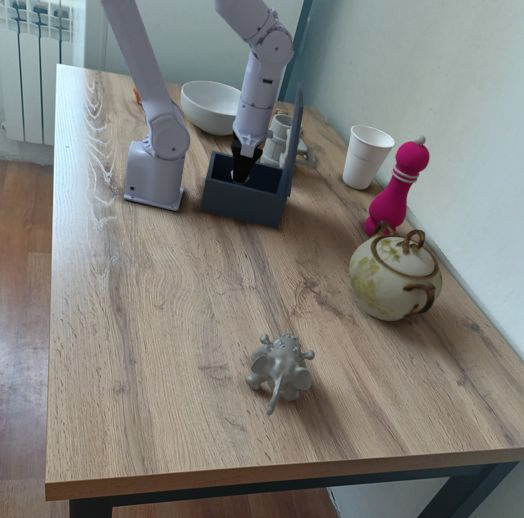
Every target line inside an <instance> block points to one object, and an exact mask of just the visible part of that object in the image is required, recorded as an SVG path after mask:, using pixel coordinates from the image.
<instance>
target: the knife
mask: <svg viewBox="0 0 524 518" xmlns="http://www.w3.org/2000/svg"><path fill="white" fill-rule="evenodd" d="M274 113H275V115H276V114H284V115H288V116H289V112H287V110H285V109H283V108H275V111H274ZM300 138H301V136H300ZM307 149H308V146H307V145H306V143H305V142H304V140H303V139H302V138H301V140H300V143H299V145H298V150H307ZM302 156H303V157H304V160H306V156H305V155H302Z"/></svg>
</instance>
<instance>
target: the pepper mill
mask: <svg viewBox="0 0 524 518" xmlns="http://www.w3.org/2000/svg"><path fill="white" fill-rule="evenodd" d="M426 139H427V138H426V137H425V136H424V135H423V134H419V135H417V136H416V137H415V139H414V140H410V141H406V142H404V143H403V144H401V145H399V147H398V148H397V150H396V153H395V156H394V157H395V163H394V164H393V166H392V169H391V172H390V174H391V177H390V180H389V182H388V184H387V185H386V187H384V188H383V190H382V191H381V192H379V194H377V195H376V196H375V197H374V198H373V200H372V201H371V203H370V204H369V207H368V215H369V216H367V218H366V219H365V221H364V224H363V229H364V232H366V234H368V236H370V237H372V236H373V230H374V228H375V226H376V224H377V223H378V222H380V221H386V222H387V223H388V224H389V225H390V227H391V228H392V229H393V230H394V231H395V232H396V233H397V227H399V226H401V225H403V223H404V221H405V219H406V216H407V211H408V208H407V207H408V206H407V205H408V203H407V202H408V194H409V192H410V189H411V187H412V186H413V184H415V183H417V182H418V178H419V177H420V172H423V171H424V170H425V169H426V168H427V167H428V165H429V162H430V157H431V156H430V155H431V154H430V151H429V149H428V148H427V147H426V146H425V145H424V144H425V143H426V141H427V140H426ZM380 230H381V229H380ZM383 235H390V233H389V232H388V230H386V231H385V233H384V234H383Z"/></svg>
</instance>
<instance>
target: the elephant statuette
mask: <svg viewBox="0 0 524 518" xmlns="http://www.w3.org/2000/svg"><path fill="white" fill-rule="evenodd" d="M259 342H260V343H261V346H258V347H257V348H256V349H254V350H253V351H252V353H251V357H250V358H251V362H252V364H251V367H250V371H251V372H252V374H249V375H247V376H246V378H245V382H246V384H247V385H248V386H249V387H250V388H251V389H253V390H259V389H260V388H261V385H262V384H264V383H265V382H266V384H267V387H269V390H271V391H272V396H271V398H270V401H269V403H268V405H267V408H266V411H265V412H266V413H265V414H266V415H267V416H272V415H273V414H274V411H275V409H276V407H277V403H278V401H279V396H280V394H281V393H282V392H283V391H284V392H283V399H284V400H285V401H288V402H289V401H297V400H298V399H300V397H301V394H300V391H299V390H302V391H303V390H304V391H305V390H306V391H308V390H309V389H310V388H311V386H312V382H313V378H312V373H311V372H310V370H309V369H308V368H307V363H306V360H308V361H313V360H314V359H315V358H316V352H315V351H314V350H313V349H308V350H307V351H305V352H304V353H303V352H302V348H301V347H302V344H301V343H300V341H299V337H298V336H294V335H293V334H292V333H291V332H290V333H286V332H283V333H282V334H281V336H277V337H276V339H275V340H270V336H269V334H268V333H265V334H262V335H260V337H259Z"/></svg>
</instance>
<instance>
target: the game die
mask: <svg viewBox="0 0 524 518" xmlns="http://www.w3.org/2000/svg"><path fill="white" fill-rule="evenodd" d="M231 175H232V179H233V170H232V171H231ZM248 180H249V175H248V178H247V179H246V181H245V183H246V182H247V181H248ZM233 182H234V184H236V185H240V186H242V185H243V183H239V182H235V181H233ZM245 183H244V184H245Z"/></svg>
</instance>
